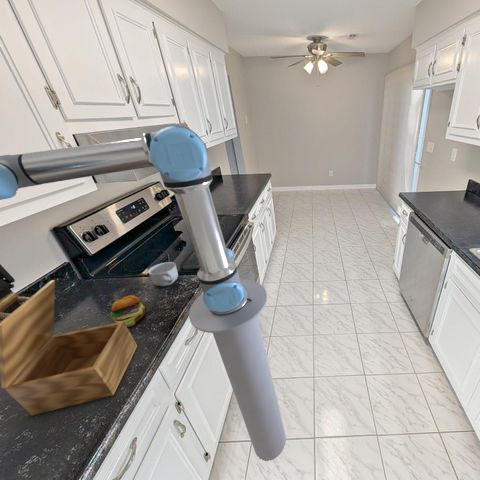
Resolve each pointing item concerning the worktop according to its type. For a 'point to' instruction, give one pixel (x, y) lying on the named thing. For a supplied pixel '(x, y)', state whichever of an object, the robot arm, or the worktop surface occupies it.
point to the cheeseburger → (127, 310)
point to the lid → (25, 330)
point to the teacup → (163, 273)
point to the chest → (74, 368)
